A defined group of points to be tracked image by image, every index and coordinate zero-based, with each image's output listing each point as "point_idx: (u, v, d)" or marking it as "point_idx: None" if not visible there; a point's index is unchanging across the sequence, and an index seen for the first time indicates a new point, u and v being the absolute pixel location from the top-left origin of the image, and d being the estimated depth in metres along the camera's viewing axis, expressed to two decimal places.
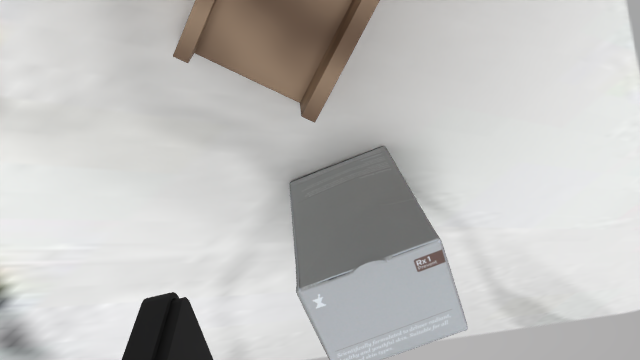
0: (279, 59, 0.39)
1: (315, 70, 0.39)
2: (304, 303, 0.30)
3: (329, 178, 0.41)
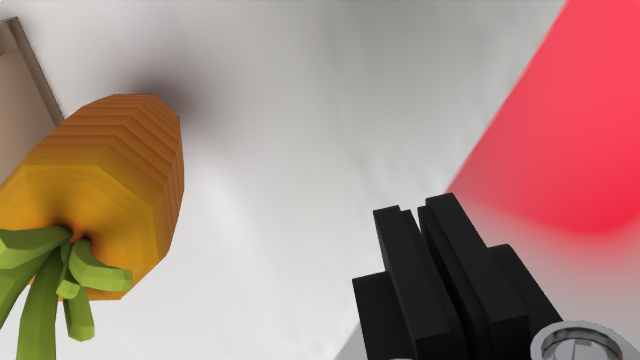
0: None
1: None
2: None
3: None
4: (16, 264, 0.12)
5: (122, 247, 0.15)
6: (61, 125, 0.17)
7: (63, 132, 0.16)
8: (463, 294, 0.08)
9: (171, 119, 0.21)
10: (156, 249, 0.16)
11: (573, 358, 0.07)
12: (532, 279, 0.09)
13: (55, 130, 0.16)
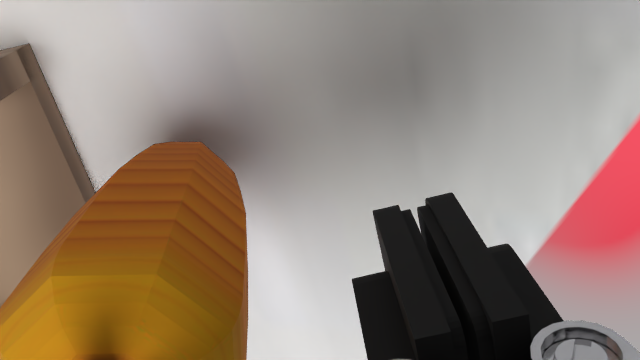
0: None
1: None
2: None
3: None
4: None
5: None
6: (97, 201, 0.12)
7: (101, 213, 0.12)
8: (463, 294, 0.08)
9: (228, 178, 0.16)
10: None
11: (573, 358, 0.07)
12: (532, 279, 0.09)
13: (90, 210, 0.12)
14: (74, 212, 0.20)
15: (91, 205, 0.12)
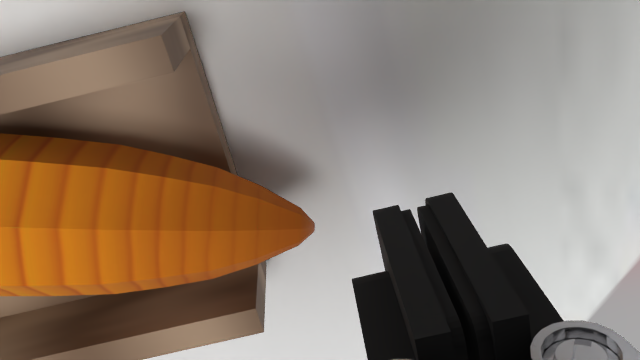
0: None
1: (16, 312, 0.21)
2: None
3: None
4: None
5: None
6: (30, 164, 0.15)
7: (6, 172, 0.15)
8: (463, 294, 0.08)
9: (169, 265, 0.16)
10: None
11: (573, 358, 0.07)
12: (532, 279, 0.09)
13: (13, 163, 0.15)
14: None
15: (25, 162, 0.15)
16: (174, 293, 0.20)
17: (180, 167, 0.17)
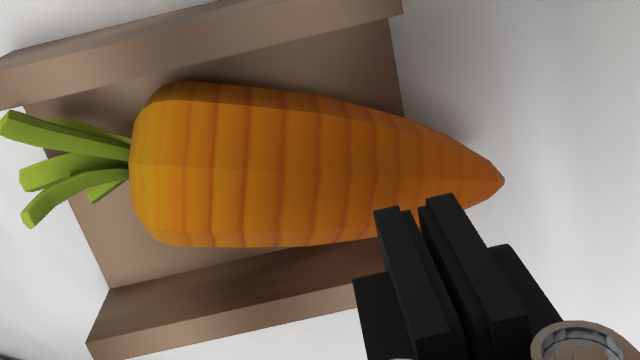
0: None
1: (174, 272, 0.21)
2: None
3: None
4: None
5: None
6: (250, 108, 0.15)
7: (228, 115, 0.15)
8: (463, 294, 0.08)
9: None
10: (156, 236, 0.17)
11: (573, 358, 0.07)
12: (532, 279, 0.09)
13: (234, 107, 0.15)
14: None
15: (244, 106, 0.15)
16: (342, 251, 0.20)
17: (381, 116, 0.17)
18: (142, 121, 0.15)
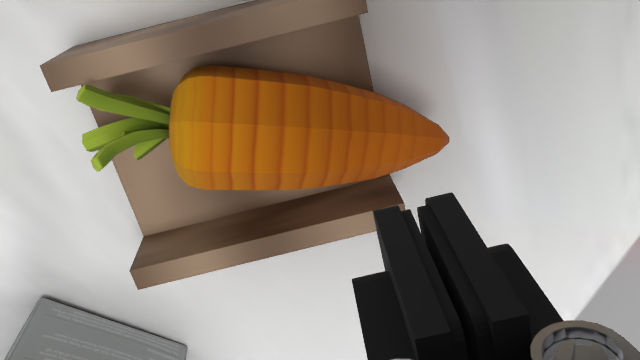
0: (169, 175, 0.26)
1: (195, 222, 0.27)
2: None
3: (91, 348, 0.27)
4: None
5: (172, 158, 0.22)
6: (258, 82, 0.21)
7: (242, 87, 0.21)
8: (463, 294, 0.08)
9: (354, 159, 0.22)
10: (187, 180, 0.22)
11: (573, 358, 0.07)
12: (532, 279, 0.09)
13: (246, 81, 0.21)
14: None
15: (254, 80, 0.21)
16: (328, 200, 0.26)
17: (355, 90, 0.23)
18: (180, 92, 0.21)
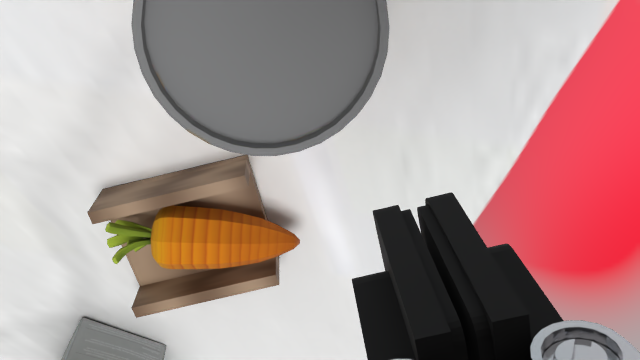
0: None
1: (168, 278, 0.48)
2: None
3: (111, 347, 0.48)
4: None
5: (152, 254, 0.43)
6: (194, 219, 0.42)
7: (186, 222, 0.42)
8: (463, 294, 0.08)
9: (244, 256, 0.43)
10: (160, 265, 0.43)
11: (573, 358, 0.07)
12: (532, 279, 0.09)
13: (189, 219, 0.42)
14: None
15: (192, 218, 0.42)
16: (240, 269, 0.47)
17: (247, 218, 0.44)
18: (155, 225, 0.42)
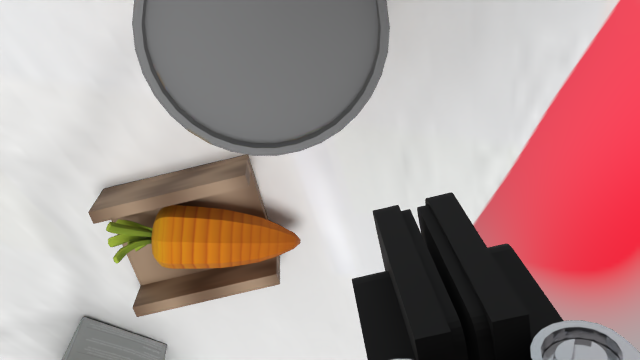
0: None
1: (169, 278, 0.48)
2: None
3: (112, 346, 0.49)
4: None
5: None
6: (195, 219, 0.42)
7: (187, 222, 0.42)
8: (463, 294, 0.08)
9: (245, 256, 0.43)
10: (161, 264, 0.44)
11: (573, 358, 0.07)
12: (532, 279, 0.09)
13: (189, 218, 0.42)
14: None
15: (193, 218, 0.42)
16: (240, 269, 0.47)
17: (247, 218, 0.44)
18: (156, 224, 0.42)
